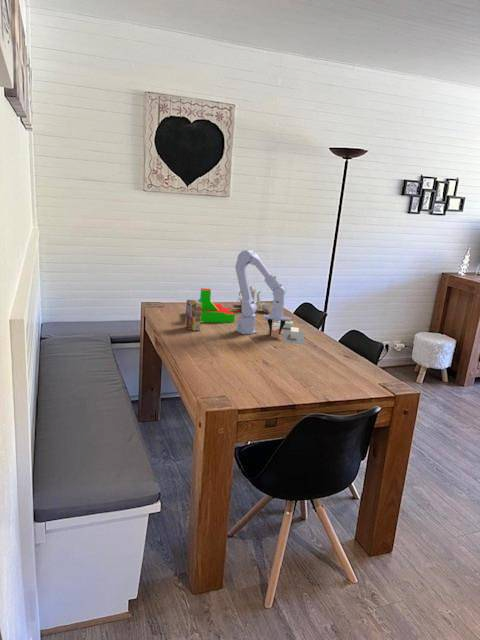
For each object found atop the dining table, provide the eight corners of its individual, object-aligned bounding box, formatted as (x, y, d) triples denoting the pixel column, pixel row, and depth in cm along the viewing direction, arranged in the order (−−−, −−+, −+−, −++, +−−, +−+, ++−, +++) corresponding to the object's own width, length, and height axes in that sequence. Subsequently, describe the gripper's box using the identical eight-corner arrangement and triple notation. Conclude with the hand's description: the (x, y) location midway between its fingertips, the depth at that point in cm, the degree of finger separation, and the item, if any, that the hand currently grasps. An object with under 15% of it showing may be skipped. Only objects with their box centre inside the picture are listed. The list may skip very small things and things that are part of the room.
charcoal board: (304, 345, 242) (304, 344, 242) (282, 342, 243) (283, 341, 243) (303, 333, 263) (303, 331, 263) (283, 330, 264) (284, 329, 264)
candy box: (200, 330, 252) (202, 302, 248) (194, 331, 249) (195, 303, 245) (191, 326, 258) (193, 298, 254) (184, 327, 256) (186, 299, 252)
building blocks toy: (234, 323, 271) (237, 292, 266) (190, 322, 266) (192, 290, 261) (229, 315, 288) (232, 285, 284) (188, 313, 284) (190, 283, 279)
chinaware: (276, 314, 305) (280, 289, 302) (264, 316, 290) (268, 289, 287) (239, 306, 318) (243, 281, 316) (226, 307, 304) (229, 281, 301)
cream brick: (297, 339, 249) (298, 332, 248) (290, 338, 249) (290, 331, 248) (297, 334, 257) (298, 327, 256) (290, 334, 257) (291, 327, 256)
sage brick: (291, 328, 271) (292, 321, 270) (291, 330, 267) (292, 323, 266) (277, 326, 272) (278, 320, 271) (277, 328, 268) (278, 321, 267)
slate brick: (279, 333, 259) (279, 326, 257) (271, 333, 259) (272, 326, 258) (279, 329, 266) (280, 322, 265) (272, 329, 267) (273, 322, 266)
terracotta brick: (278, 338, 249) (279, 331, 248) (270, 337, 249) (271, 330, 248) (278, 334, 256) (279, 327, 255) (271, 333, 257) (272, 326, 256)
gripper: (263, 309, 246) (261, 334, 249) (291, 312, 244) (288, 337, 248) (264, 306, 252) (261, 330, 256) (291, 308, 251) (288, 333, 255)
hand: (275, 333), depth 252 cm, fingers closed on terracotta brick, 4 cm apart
